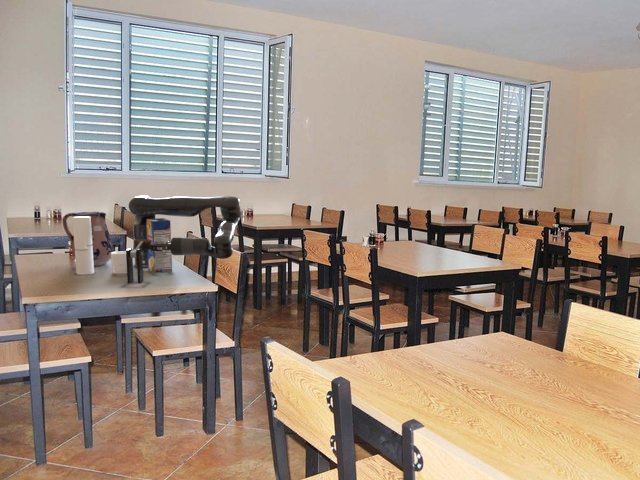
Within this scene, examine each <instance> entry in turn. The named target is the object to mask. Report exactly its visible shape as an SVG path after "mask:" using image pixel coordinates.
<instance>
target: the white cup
mask: <svg viewBox="0 0 640 480" xmlns="http://www.w3.org/2000/svg"><path fill="white" fill-rule="evenodd" d="M110 260H111V261H110V262H111V269H112V273H113V274H117V275H118V274H119V275H120V274H122V275H123V274H127V262H126V250H124V251H123V250H122V251H121V250H120V251H113V252H112V253H111V259H110Z"/></svg>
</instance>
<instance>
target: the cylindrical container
mask: <svg viewBox="0 0 640 480" xmlns="http://www.w3.org/2000/svg"><path fill="white" fill-rule="evenodd" d="M72 229H73V236H74V245H75V258H74V259H75V273H76V274H75V275H80V276H82V275H83V276H85V275H86V276H87V275H93V274H95V266H94V262H93V245H92V229H91V217H89V216H78V217H72Z"/></svg>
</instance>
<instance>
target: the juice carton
mask: <svg viewBox="0 0 640 480" xmlns="http://www.w3.org/2000/svg"><path fill="white" fill-rule="evenodd" d="M146 222H147V240H152V243H155V242H165V241H169V242H170V243H171V240H172V229H171V220H170V219H167V218H165V217H162V218H161V217H160V218H159V217H158V218H157V217H155V219H146ZM148 265H149V267H148V272H153V273H154V274H157V273H158V274H159V273H170V272H171V273H172V272H173V255H172V253H171V250H169V251H167V252H163V251H161V252H160V251H150V250H148Z"/></svg>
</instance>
